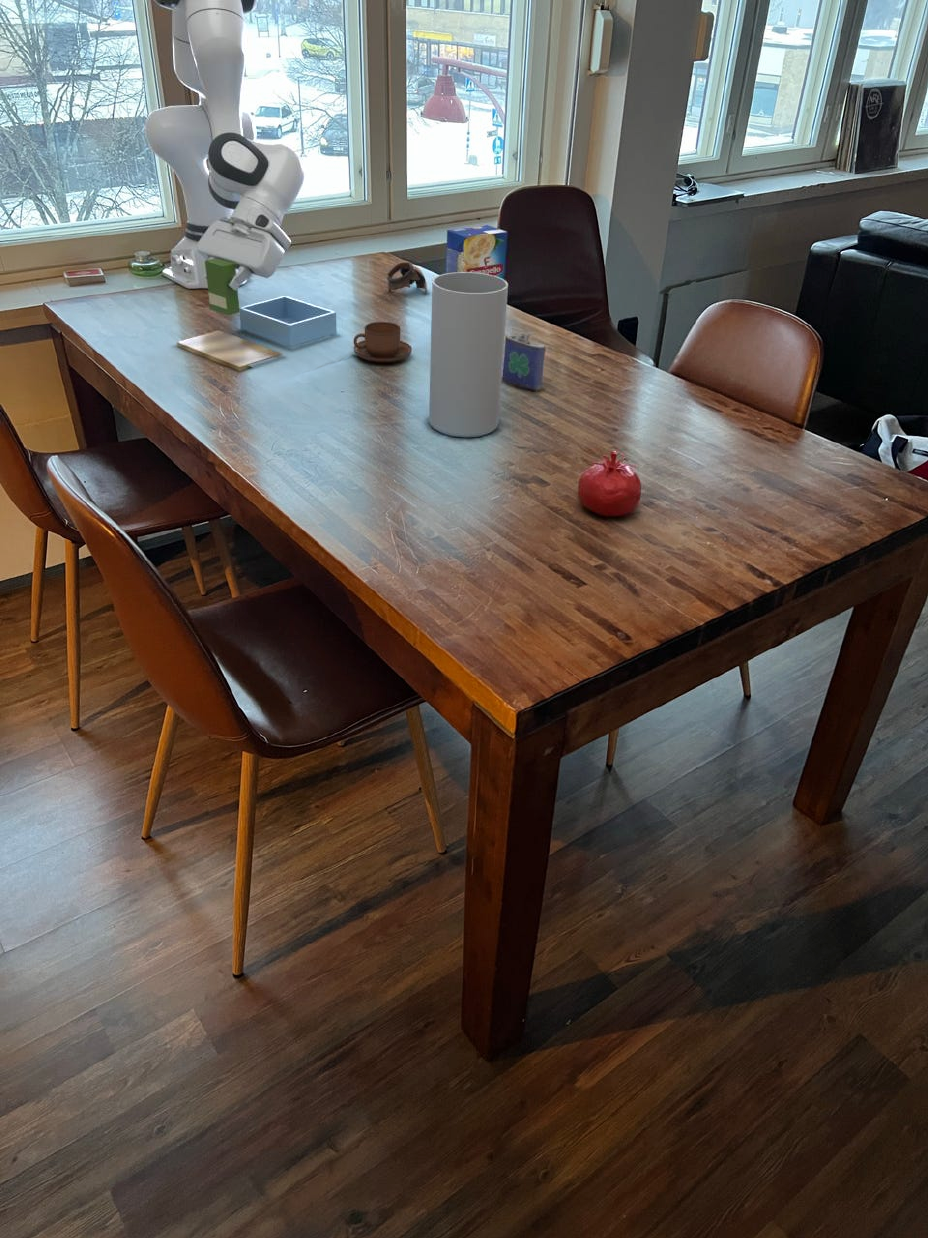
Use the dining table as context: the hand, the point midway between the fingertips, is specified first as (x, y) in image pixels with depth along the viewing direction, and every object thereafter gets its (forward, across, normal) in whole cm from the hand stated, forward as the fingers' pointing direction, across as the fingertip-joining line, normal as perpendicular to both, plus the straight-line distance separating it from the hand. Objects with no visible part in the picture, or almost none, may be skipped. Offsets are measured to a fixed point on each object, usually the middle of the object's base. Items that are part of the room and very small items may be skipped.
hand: (219, 284), depth 184 cm
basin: (-2, 0, +22) cm, 22 cm away
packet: (+3, 0, +4) cm, 5 cm away
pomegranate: (+12, +94, +9) cm, 95 cm away
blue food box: (-23, +28, +43) cm, 56 cm away
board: (+9, 0, +10) cm, 14 cm away
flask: (-11, +54, +31) cm, 63 cm away
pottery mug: (-33, -4, +53) cm, 62 cm away
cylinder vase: (+6, +58, +15) cm, 60 cm away
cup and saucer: (-5, +24, +25) cm, 35 cm away
